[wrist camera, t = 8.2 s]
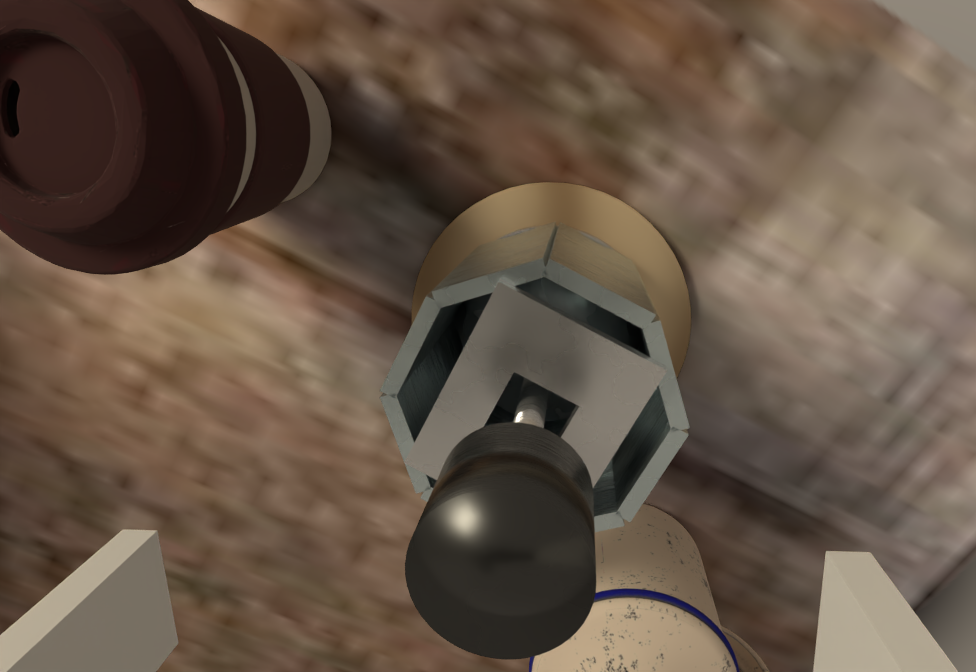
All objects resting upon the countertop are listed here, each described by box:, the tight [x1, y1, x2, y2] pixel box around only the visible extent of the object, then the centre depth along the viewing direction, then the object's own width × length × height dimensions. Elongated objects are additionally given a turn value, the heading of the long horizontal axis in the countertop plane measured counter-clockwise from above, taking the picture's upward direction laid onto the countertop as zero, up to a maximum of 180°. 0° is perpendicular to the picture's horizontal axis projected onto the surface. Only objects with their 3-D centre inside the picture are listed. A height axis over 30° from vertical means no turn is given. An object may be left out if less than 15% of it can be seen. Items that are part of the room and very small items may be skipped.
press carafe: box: [380, 222, 690, 532], centre depth 29 cm, size 10×13×12 cm
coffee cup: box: [0, 0, 331, 274], centre depth 27 cm, size 10×10×15 cm
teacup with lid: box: [529, 504, 770, 672], centre depth 33 cm, size 12×9×12 cm
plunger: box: [405, 277, 629, 659], centre depth 23 cm, size 8×8×19 cm
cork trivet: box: [412, 182, 691, 379], centre depth 35 cm, size 14×14×1 cm
